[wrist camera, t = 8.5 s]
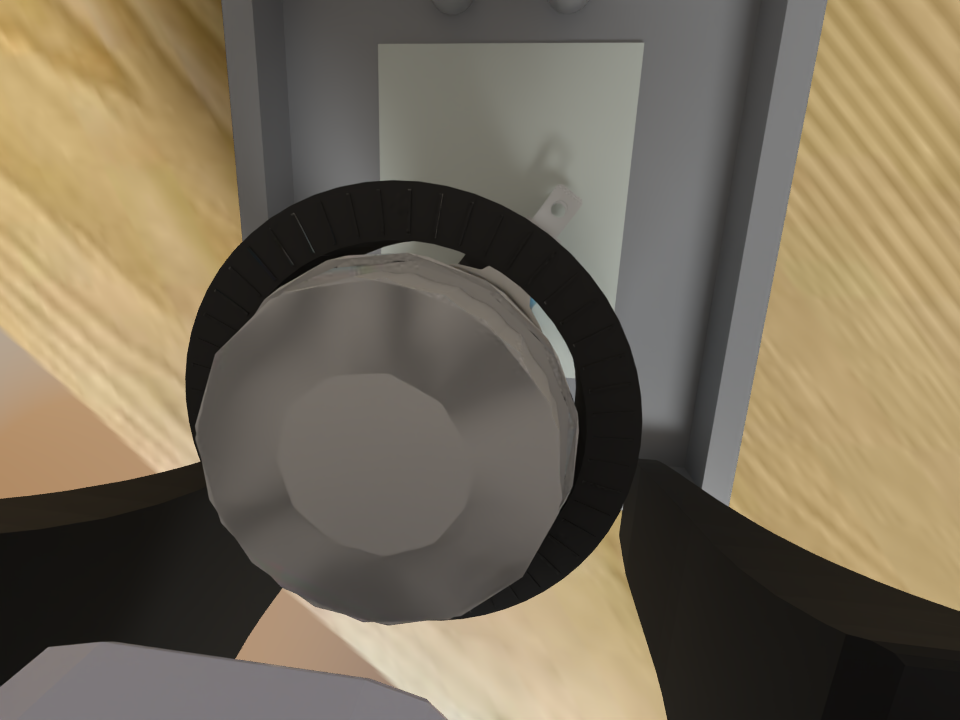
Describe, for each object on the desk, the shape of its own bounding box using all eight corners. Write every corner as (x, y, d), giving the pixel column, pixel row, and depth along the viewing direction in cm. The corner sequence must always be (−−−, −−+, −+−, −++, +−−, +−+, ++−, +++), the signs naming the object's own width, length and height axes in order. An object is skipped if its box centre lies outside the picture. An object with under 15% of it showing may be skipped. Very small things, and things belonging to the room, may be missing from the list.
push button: (494, 139, 13) (366, -175, 3) (644, 257, 13) (949, 304, 3) (367, 327, 15) (35, 495, 5) (501, 428, 15) (438, 772, 5)
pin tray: (800, -105, 11) (925, -269, 8) (698, 480, 15) (749, 554, 12) (264, -86, 13) (156, -216, 9) (298, 444, 17) (233, 500, 13)
